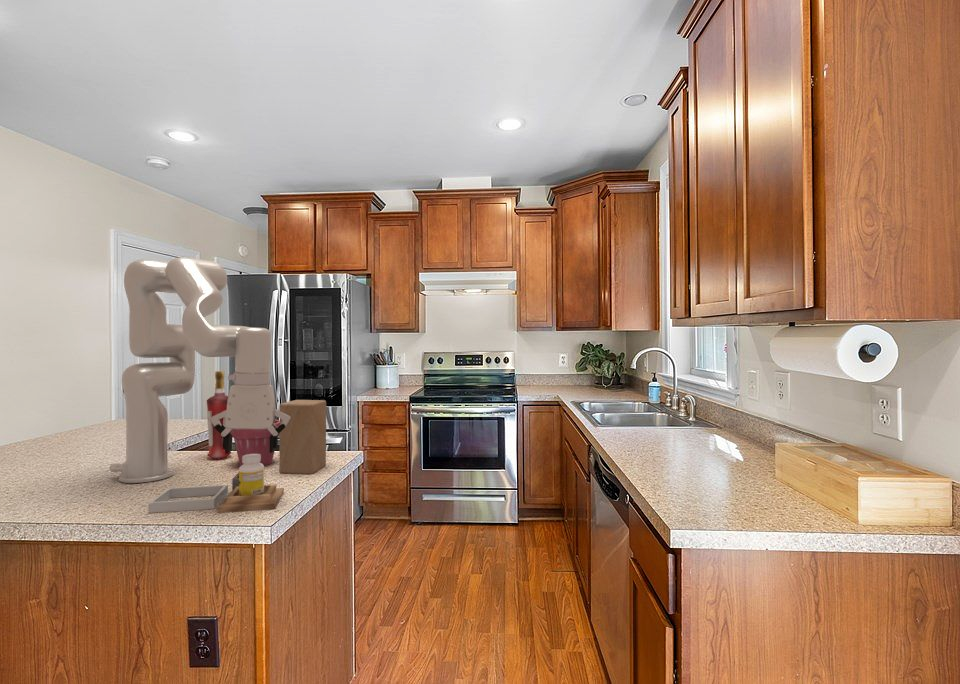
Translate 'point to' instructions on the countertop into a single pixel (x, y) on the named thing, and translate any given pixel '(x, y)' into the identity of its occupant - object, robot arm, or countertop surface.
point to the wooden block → (303, 437)
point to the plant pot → (254, 443)
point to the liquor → (215, 407)
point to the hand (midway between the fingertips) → (250, 451)
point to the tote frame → (184, 505)
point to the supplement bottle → (251, 475)
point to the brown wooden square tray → (251, 500)
